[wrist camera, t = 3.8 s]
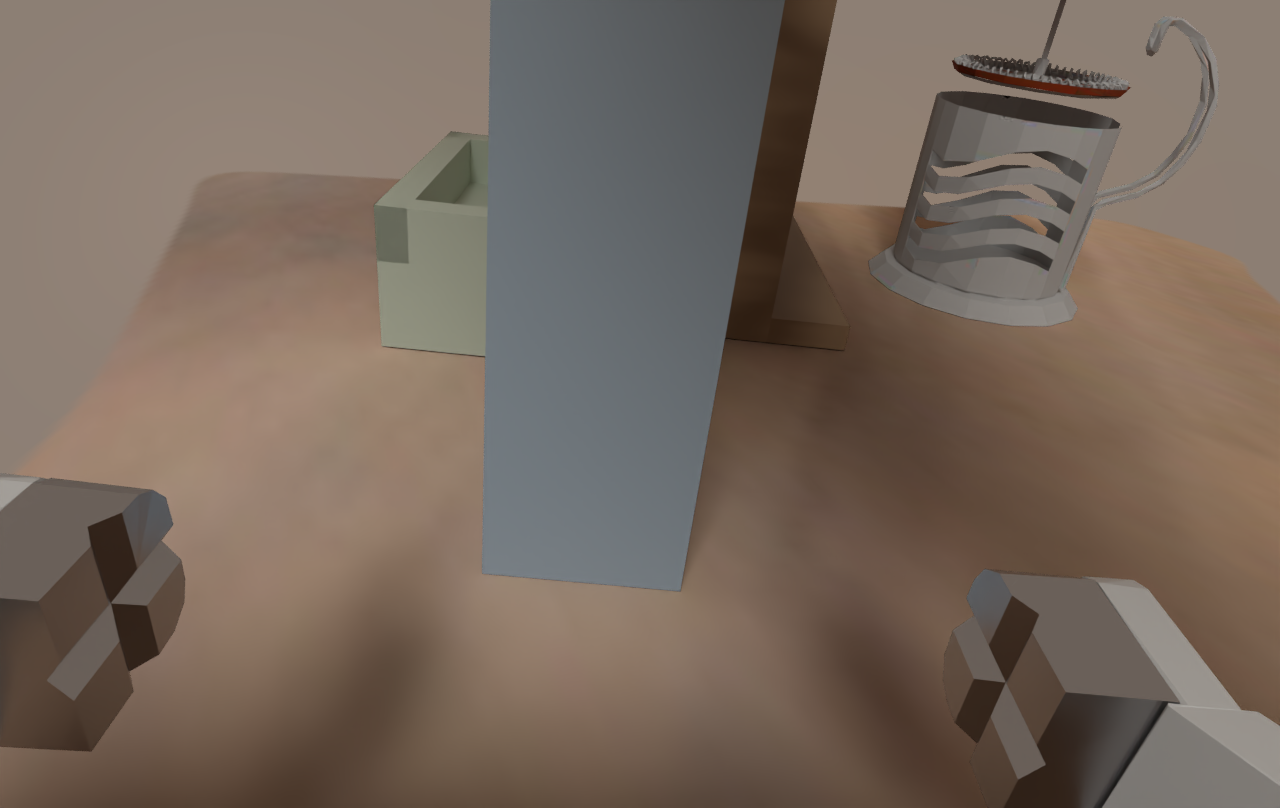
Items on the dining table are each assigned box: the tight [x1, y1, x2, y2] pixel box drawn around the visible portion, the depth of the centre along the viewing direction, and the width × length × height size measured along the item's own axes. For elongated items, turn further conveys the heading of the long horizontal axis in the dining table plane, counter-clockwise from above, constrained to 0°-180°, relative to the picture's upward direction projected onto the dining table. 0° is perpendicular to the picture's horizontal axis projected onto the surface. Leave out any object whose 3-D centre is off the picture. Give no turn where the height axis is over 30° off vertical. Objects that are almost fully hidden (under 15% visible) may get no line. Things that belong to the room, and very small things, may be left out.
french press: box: [868, 0, 1219, 326], centre depth 33 cm, size 10×12×25 cm
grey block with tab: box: [482, 0, 785, 591], centre depth 17 cm, size 4×6×15 cm
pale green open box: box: [374, 132, 489, 356], centre depth 31 cm, size 9×11×5 cm
